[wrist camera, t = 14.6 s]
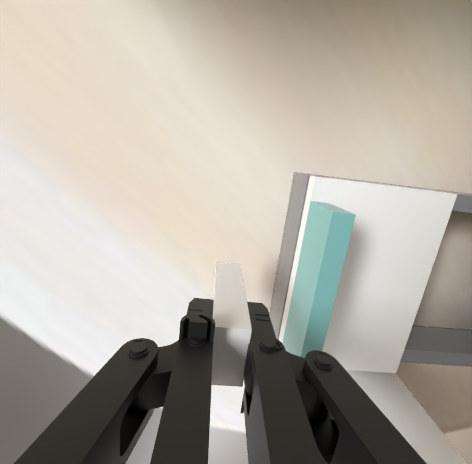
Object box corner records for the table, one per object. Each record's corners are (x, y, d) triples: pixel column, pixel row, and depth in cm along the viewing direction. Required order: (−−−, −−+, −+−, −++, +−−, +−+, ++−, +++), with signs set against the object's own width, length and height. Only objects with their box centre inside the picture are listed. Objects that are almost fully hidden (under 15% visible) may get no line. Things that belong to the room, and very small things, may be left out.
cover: (309, 175, 17) (339, 181, 13) (444, 192, 18) (516, 203, 14) (275, 355, 21) (289, 408, 16) (388, 363, 22) (430, 415, 17)
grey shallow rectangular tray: (294, 172, 21) (308, 175, 17) (545, 203, 23) (603, 211, 19) (267, 325, 25) (274, 353, 21) (484, 342, 26) (524, 370, 23)
